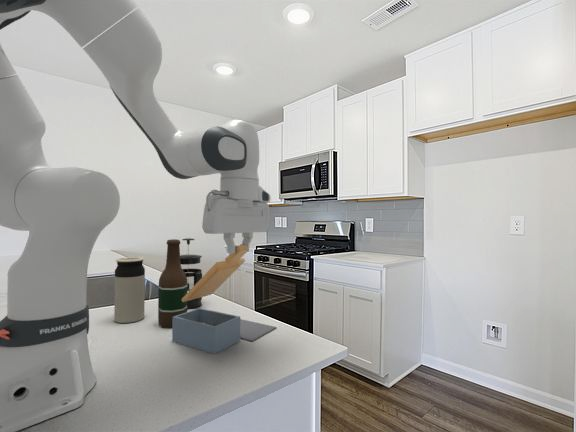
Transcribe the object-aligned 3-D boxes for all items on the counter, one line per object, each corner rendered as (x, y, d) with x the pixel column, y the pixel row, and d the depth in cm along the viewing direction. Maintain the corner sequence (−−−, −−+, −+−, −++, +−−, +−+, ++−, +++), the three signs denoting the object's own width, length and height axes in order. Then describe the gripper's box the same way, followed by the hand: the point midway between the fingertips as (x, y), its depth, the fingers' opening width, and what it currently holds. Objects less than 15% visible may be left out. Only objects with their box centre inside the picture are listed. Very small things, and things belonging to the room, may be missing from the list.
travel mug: (144, 321, 93) (145, 259, 93) (113, 325, 90) (114, 261, 90) (144, 313, 100) (144, 256, 100) (115, 317, 97) (115, 257, 97)
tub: (214, 354, 72) (215, 327, 72) (172, 341, 79) (172, 316, 79) (240, 340, 80) (240, 316, 80) (199, 330, 87) (199, 307, 87)
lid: (232, 253, 69) (228, 246, 69) (183, 303, 76) (180, 297, 76) (258, 250, 77) (254, 244, 78) (212, 295, 84) (208, 290, 85)
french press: (166, 306, 109) (166, 238, 109) (189, 300, 117) (190, 237, 116) (187, 312, 102) (188, 240, 102) (211, 305, 110) (211, 238, 110)
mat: (252, 341, 79) (252, 340, 79) (210, 331, 86) (210, 329, 86) (276, 328, 88) (276, 327, 88) (236, 319, 95) (236, 318, 95)
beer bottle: (152, 325, 90) (152, 240, 90) (173, 317, 97) (174, 238, 96) (171, 330, 86) (172, 241, 86) (192, 322, 93) (193, 239, 93)
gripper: (219, 188, 64) (217, 257, 63) (274, 195, 81) (273, 250, 81) (196, 189, 67) (194, 255, 67) (254, 196, 84) (253, 249, 84)
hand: (238, 252), depth 74 cm, fingers closed on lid, 3 cm apart
